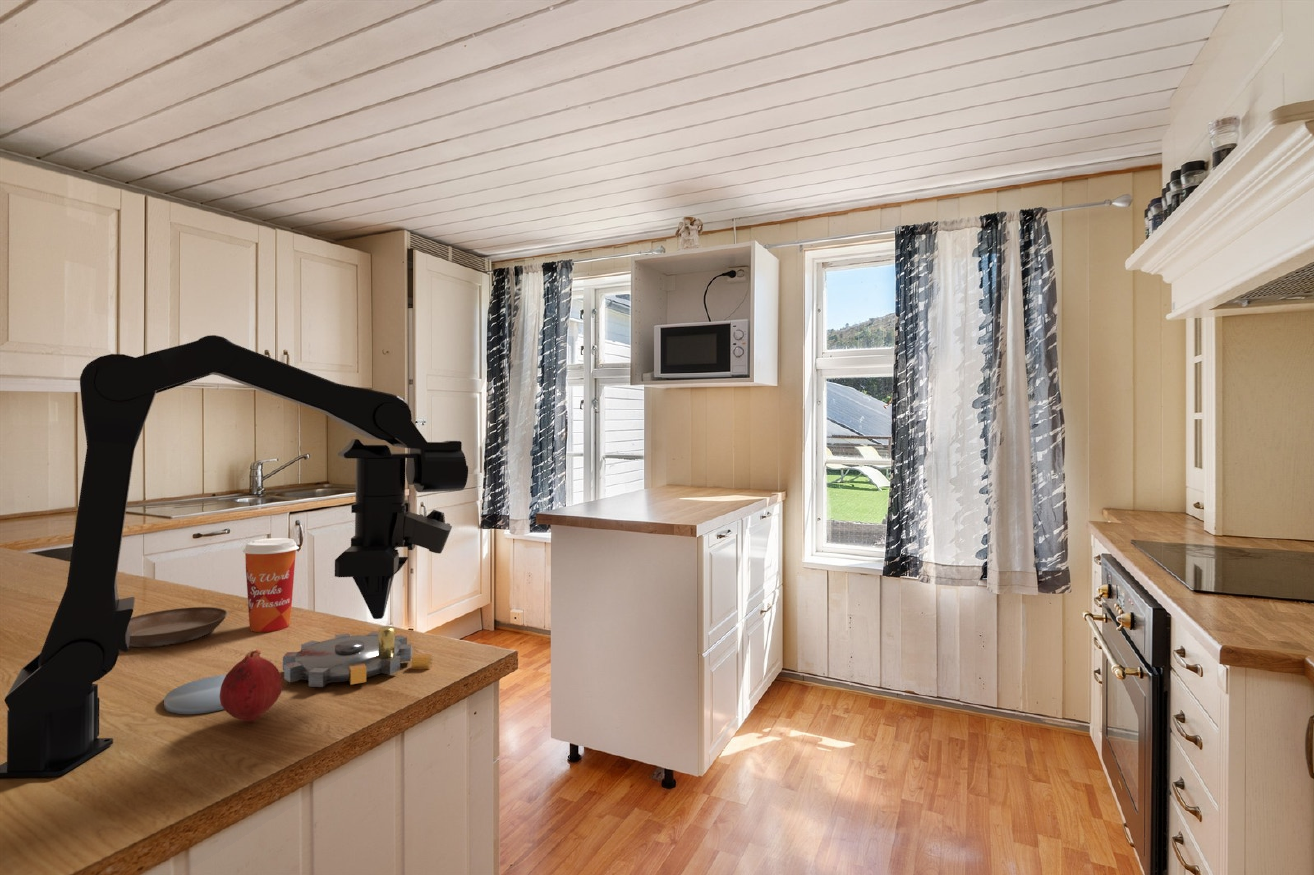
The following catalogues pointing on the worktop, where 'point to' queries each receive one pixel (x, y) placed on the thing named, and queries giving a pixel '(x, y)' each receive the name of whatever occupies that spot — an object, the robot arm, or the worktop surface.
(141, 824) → the worktop surface
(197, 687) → the coaster
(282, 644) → the worktop surface
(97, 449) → the robot arm
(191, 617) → the saucer
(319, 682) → the sprocket
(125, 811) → the worktop surface
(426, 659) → the wooden toy brick
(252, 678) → the onion
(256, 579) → the paper cup
